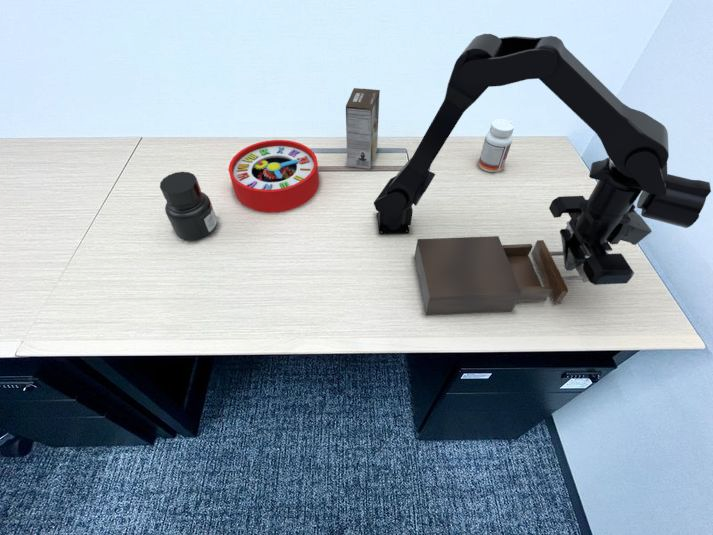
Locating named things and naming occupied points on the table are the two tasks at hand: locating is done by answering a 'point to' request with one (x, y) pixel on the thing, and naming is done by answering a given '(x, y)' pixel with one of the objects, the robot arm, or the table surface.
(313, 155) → the toy clock
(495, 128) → the pill bottle
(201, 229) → the ink bottle
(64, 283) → the table surface
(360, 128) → the coffee box
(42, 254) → the table surface
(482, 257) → the cabinet
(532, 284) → the drawer
